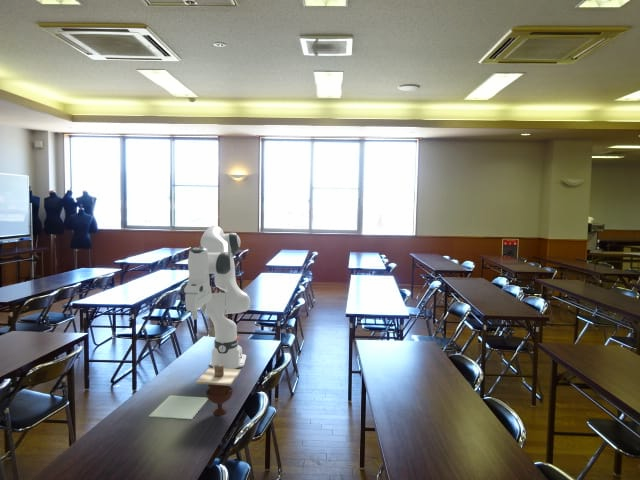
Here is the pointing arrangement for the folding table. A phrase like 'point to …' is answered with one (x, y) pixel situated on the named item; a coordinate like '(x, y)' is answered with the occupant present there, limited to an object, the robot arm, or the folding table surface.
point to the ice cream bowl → (219, 396)
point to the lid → (219, 376)
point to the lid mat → (179, 407)
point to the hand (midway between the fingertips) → (199, 315)
